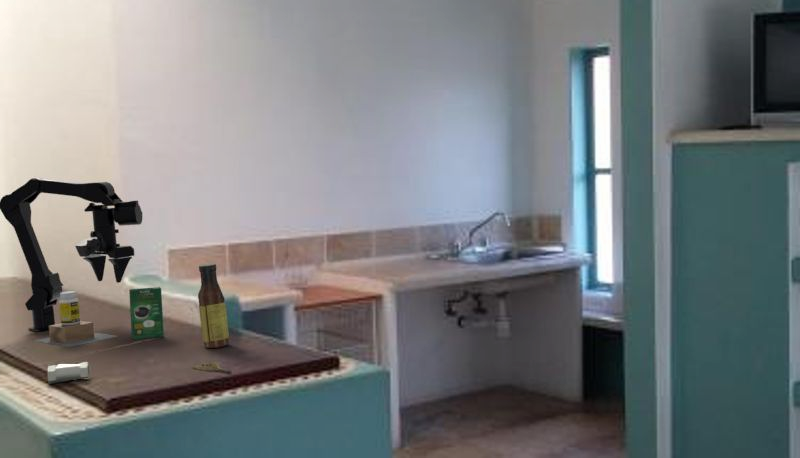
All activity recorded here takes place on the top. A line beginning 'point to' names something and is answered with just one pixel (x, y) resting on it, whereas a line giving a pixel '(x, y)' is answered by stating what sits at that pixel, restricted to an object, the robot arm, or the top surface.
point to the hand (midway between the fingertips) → (109, 281)
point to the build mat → (96, 338)
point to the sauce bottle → (212, 309)
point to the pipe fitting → (68, 372)
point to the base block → (71, 332)
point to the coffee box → (146, 313)
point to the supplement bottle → (69, 308)
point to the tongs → (212, 368)
